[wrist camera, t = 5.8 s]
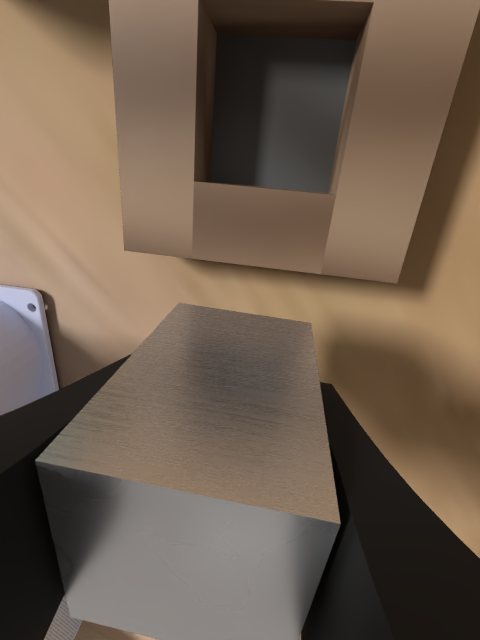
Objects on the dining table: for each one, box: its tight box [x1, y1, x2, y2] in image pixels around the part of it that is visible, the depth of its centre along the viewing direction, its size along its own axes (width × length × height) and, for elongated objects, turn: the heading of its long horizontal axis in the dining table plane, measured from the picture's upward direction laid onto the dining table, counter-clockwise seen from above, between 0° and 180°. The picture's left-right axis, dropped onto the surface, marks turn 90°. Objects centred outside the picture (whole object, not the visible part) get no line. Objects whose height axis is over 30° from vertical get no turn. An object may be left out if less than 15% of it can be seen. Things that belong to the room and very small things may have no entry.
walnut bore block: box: [109, 0, 480, 283], centre depth 12 cm, size 11×11×3 cm
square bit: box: [35, 303, 341, 640], centre depth 8 cm, size 4×4×6 cm
